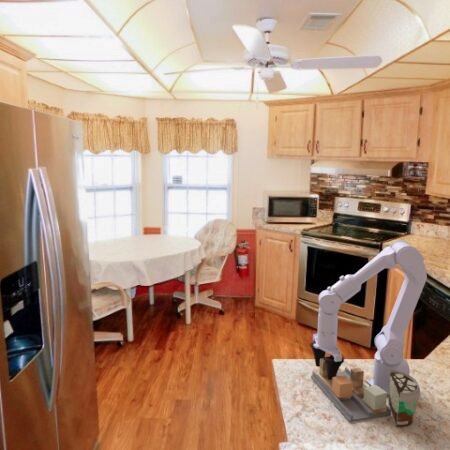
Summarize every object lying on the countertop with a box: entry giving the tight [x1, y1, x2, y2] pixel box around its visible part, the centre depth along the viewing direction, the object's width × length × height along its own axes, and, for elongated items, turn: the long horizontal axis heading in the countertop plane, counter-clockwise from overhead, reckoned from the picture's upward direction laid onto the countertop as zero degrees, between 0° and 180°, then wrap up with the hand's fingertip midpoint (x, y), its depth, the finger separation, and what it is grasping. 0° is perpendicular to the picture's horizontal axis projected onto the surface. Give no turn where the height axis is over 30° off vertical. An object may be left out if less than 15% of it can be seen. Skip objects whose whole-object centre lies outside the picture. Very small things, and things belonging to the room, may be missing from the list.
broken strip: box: [350, 367, 387, 414], centre depth 106 cm, size 4×12×6 cm, turn 13°
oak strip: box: [316, 358, 351, 400], centre depth 112 cm, size 4×12×6 cm, turn 13°
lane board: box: [310, 366, 392, 423], centre depth 110 cm, size 12×22×2 cm, turn 13°
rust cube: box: [332, 376, 353, 398], centre depth 108 cm, size 4×4×4 cm
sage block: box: [363, 385, 388, 410], centre depth 103 cm, size 4×4×4 cm
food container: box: [387, 370, 421, 428], centre depth 100 cm, size 12×6×10 cm, turn 168°
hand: (325, 372), depth 117 cm, fingers open, 7 cm apart
